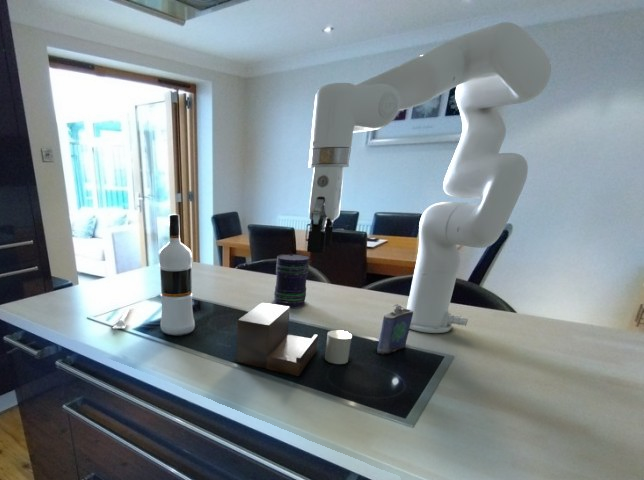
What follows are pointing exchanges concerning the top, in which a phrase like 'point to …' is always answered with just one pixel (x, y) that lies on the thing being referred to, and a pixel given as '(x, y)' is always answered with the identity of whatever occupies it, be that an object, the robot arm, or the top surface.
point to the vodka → (176, 283)
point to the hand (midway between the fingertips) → (319, 248)
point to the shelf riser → (272, 341)
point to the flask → (394, 330)
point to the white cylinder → (338, 347)
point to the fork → (122, 320)
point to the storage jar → (291, 280)
